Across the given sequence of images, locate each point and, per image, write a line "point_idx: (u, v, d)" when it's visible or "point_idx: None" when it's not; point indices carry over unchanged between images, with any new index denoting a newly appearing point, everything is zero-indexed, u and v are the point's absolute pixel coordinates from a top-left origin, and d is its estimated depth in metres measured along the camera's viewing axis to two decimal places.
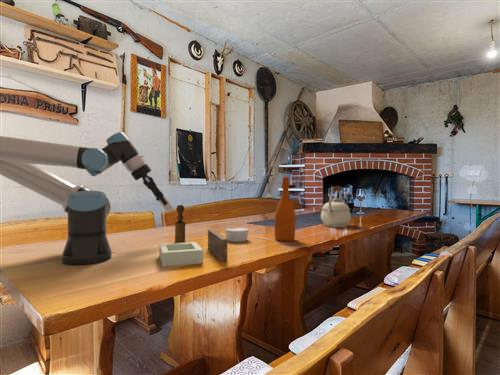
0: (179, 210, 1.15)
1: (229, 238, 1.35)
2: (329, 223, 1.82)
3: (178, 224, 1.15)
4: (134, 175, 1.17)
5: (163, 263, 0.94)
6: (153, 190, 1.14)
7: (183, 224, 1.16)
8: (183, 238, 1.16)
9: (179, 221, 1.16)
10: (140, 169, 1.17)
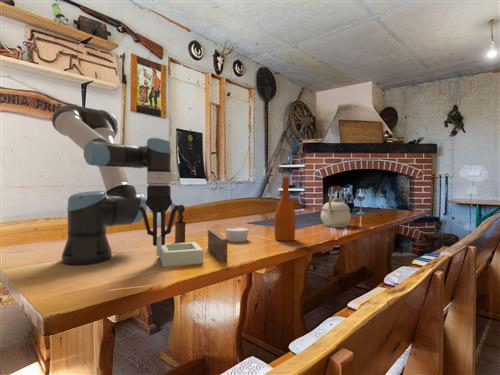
0: (179, 210, 1.15)
1: (229, 238, 1.35)
2: (329, 223, 1.82)
3: (178, 224, 1.15)
4: None
5: (163, 263, 0.94)
6: None
7: (183, 224, 1.16)
8: (183, 238, 1.16)
9: (179, 221, 1.16)
10: (147, 188, 0.97)
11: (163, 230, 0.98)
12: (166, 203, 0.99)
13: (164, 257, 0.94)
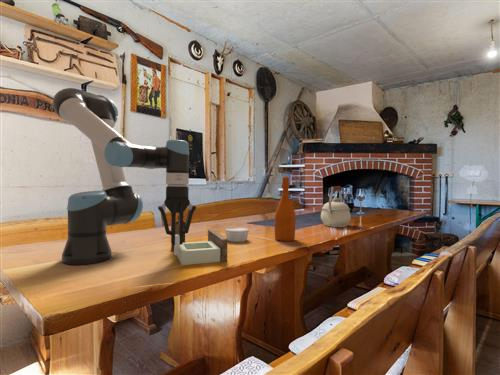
0: None
1: (229, 238, 1.35)
2: (329, 223, 1.82)
3: (178, 224, 1.15)
4: None
5: (182, 261, 0.96)
6: None
7: (183, 224, 1.16)
8: (183, 238, 1.16)
9: None
10: (166, 188, 1.00)
11: (181, 230, 1.01)
12: (184, 203, 1.01)
13: (183, 255, 0.96)
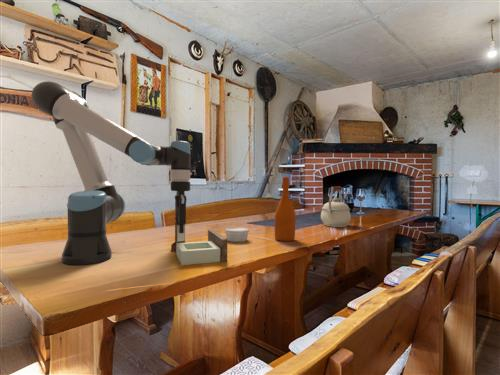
0: None
1: (229, 238, 1.35)
2: (329, 223, 1.82)
3: None
4: (173, 185, 1.13)
5: (182, 261, 0.96)
6: (180, 213, 1.11)
7: None
8: None
9: None
10: (182, 183, 1.13)
11: None
12: None
13: (183, 255, 0.96)
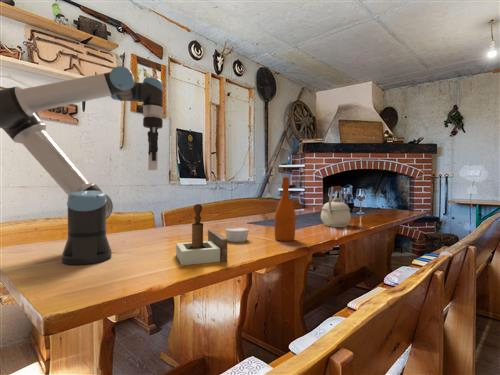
0: (197, 210, 1.03)
1: (229, 238, 1.35)
2: (329, 223, 1.82)
3: (195, 226, 1.02)
4: (145, 120, 1.17)
5: (182, 261, 0.96)
6: (152, 140, 1.12)
7: (201, 226, 1.03)
8: (201, 241, 1.03)
9: (196, 222, 1.04)
10: (154, 118, 1.17)
11: None
12: None
13: (183, 256, 0.96)
